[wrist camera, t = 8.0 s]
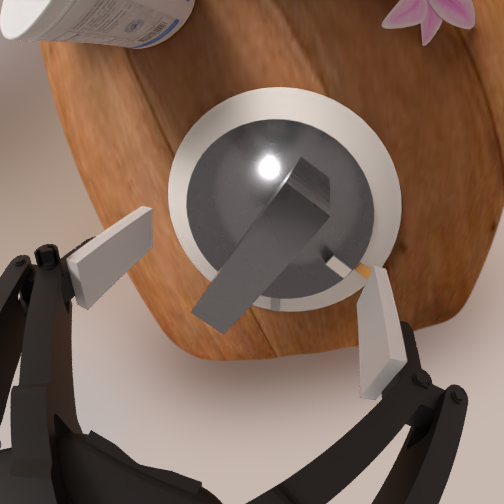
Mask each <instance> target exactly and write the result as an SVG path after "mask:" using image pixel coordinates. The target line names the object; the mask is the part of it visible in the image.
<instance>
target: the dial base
mask: <svg viewBox="0 0 504 504" xmlns="http://www.w3.org/2000/svg"><path fill="white" fill-rule="evenodd" d="M268 119H287V120H293V121H299V122H302V123H305V124H309V125H312V126H314V127H316V128H318V129H320V130H322V131H324V132H326V133H327V134H329V135H331V136H332V137H334V138H335V139H336V140H338V141H339V142H340V143H341V144H342V145H343V146H344V147H345V148H346V149H347V150H348V151H349V152H350V153H351V154H352V156H353V157H354V158H355V159H356V161H357V162H358V164H359V166H360V167H361V169H362V170H363V172H364V174H365V176H366V179H367V181H368V183H369V186H370V190H371V193H372V197H373V204H374V225H373V231H372V236H371V239H370V242H369V245H368V247H367V250H366V252H365V254H364V256H363V257H362V259H361V260H360V262H359V263H358V265H357V266H356V267H355V268H354V269H353V271H352V272H351V273H350V274H349V275H348V276H347V277H345V278H344V279H343V280H342V281H341V282H339V283H337V284H336V285H334V286H333V287H331V288H329V289H327V290H325V291H323V292H320V293H317V294H314V295H311V296H307V297H302V298H293V299H279V298H271V297H266V296H261V295H260V296H259V298H258V299H257V300H256V301H255V302H254V303H253V304H252V305H254V306H257V307H260V308H265V309H270V310H271V311H278V312H279V311H287V312H292V311H307V310H314V309H318V308H322V307H326V306H329V305H332V304H334V303H337V302H339V301H342V300H343V299H345V298H347V297H349V296H351V295H353V294H354V293H355V292H357V291H358V290H360V289H361V288H362V287H364V286H365V284H366V282H367V280H368V278H369V275H370V273H371V271H372V268H373V266H377V267H382V266H383V265H384V263H385V261H386V260H387V258H388V256H389V255H390V253H391V251H392V248H393V246H394V244H395V241H396V238H397V234H398V231H399V227H400V220H401V211H402V207H401V191H400V185H399V180H398V176H397V173H396V170H395V167H394V164H393V161H392V159H391V157H390V155H389V153H388V151H387V150H386V148H385V146H384V145H383V143H382V142H381V140H380V139H379V137H378V136H377V135H376V133H375V132H374V131H373V130H372V129H371V128H370V127H369V126H368V125H367V124H366V122H365V121H364V120H363V119H361V118H360V117H359V116H358V115H356V114H355V113H354V112H352V111H351V110H350V109H349V108H347V107H345V106H343V105H342V104H340V103H338V102H336V101H335V100H333V99H331V98H328V97H326V96H323V95H320V94H318V93H315V92H311V91H307V90H302V89H298V88H286V87H272V88H261V89H256V90H251V91H247V92H244V93H241V94H238V95H236V96H233V97H230V98H228V99H227V100H225V101H223V102H221V103H219V104H218V105H216V106H215V107H213V108H212V109H211V110H209V111H208V112H207V113H205V114H204V115H203V116H202V117H201V118H200V119H199V120H198V121H197V122H196V123H195V124H194V125H193V126H192V128H191V129H190V130H189V132H188V133H187V134H186V136H185V137H184V139H183V141H182V142H181V144H180V146H179V148H178V150H177V152H176V155H175V158H174V161H173V163H172V167H171V172H170V177H169V187H168V200H169V210H170V215H171V220H172V223H173V227H174V230H175V233H176V235H177V237H178V239H179V242H180V244H181V246H182V247H183V249H184V251H185V253H186V254H187V256H188V257H189V259H190V260H191V261H192V263H193V264H194V265H195V267H196V268H197V269H198V270H199V271H200V272H201V273H202V274H203V275H204V276H205V277H206V278H207V279H208V280H209V281H212V280H213V278H214V277H215V275H216V274H217V271H216V270H215V269H214V268H213V267H212V266H211V265H210V263H209V262H208V261H207V260H206V259H205V257H204V256H203V254H202V253H201V251H200V250H199V248H198V246H197V244H196V242H195V240H194V238H193V235H192V233H191V230H190V227H189V222H188V218H187V208H186V200H187V190H188V184H189V181H190V178H191V174H192V172H193V170H194V168H195V166H196V164H197V162H198V160H199V159H200V157H201V156H202V154H203V153H204V152H205V151H206V149H207V148H208V147H209V146H210V145H211V144H212V143H213V142H214V141H216V140H217V139H218V138H219V137H220V136H222V135H223V134H225V133H227V132H228V131H230V130H232V129H234V128H236V127H238V126H241V125H243V124H247V123H250V122H254V121H259V120H268Z"/></svg>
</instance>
